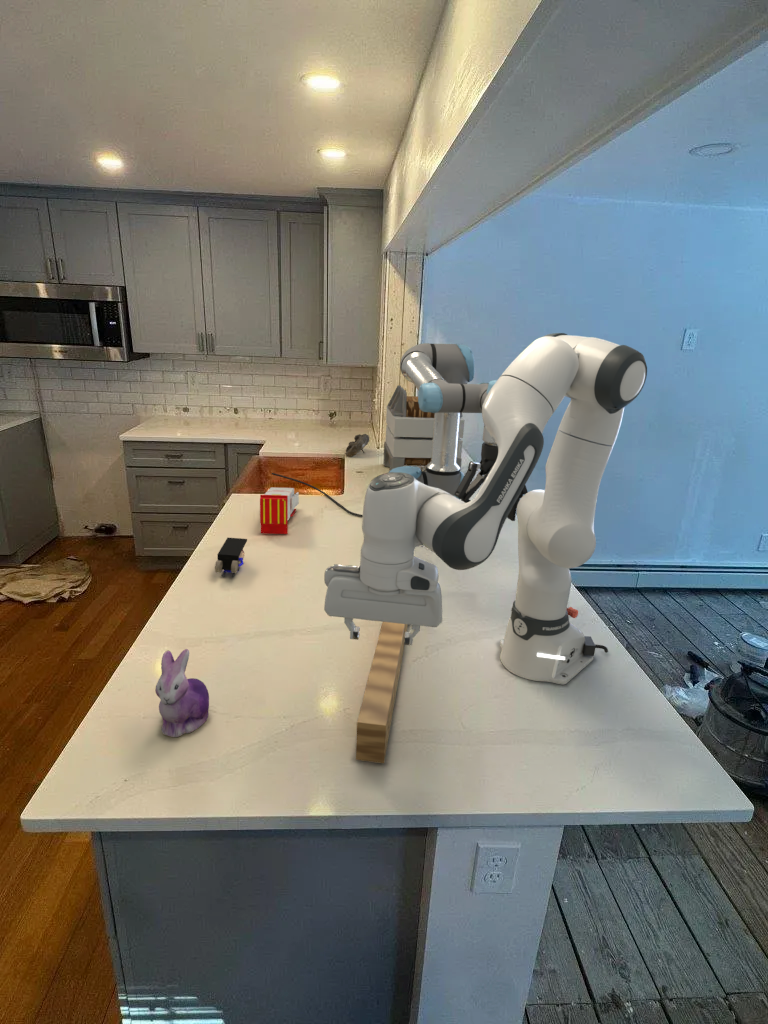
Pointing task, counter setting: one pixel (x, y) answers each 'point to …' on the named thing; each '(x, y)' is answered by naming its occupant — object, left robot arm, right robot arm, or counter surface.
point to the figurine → (180, 697)
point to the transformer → (411, 433)
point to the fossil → (357, 445)
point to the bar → (380, 694)
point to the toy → (277, 510)
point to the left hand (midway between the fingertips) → (488, 521)
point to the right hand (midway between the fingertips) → (381, 640)
